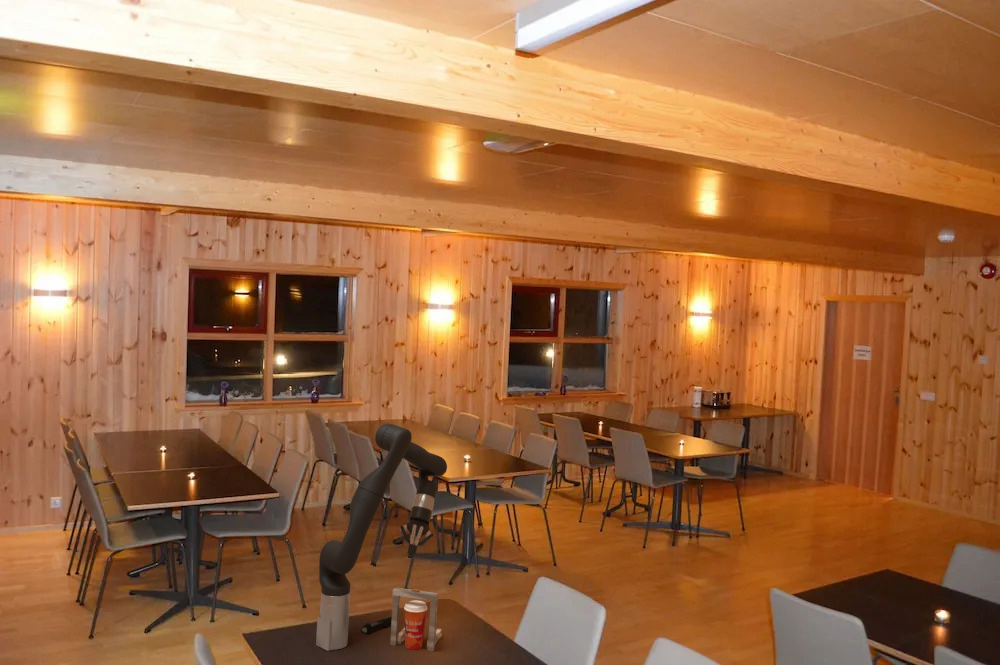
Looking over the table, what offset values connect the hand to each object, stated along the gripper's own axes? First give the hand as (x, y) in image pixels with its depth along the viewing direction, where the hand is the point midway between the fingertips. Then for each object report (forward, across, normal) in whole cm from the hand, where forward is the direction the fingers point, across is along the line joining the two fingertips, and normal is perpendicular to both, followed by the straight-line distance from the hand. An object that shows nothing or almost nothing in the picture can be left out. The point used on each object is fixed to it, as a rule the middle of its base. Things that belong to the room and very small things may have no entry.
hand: (410, 556), depth 279 cm
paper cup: (+30, +8, -8) cm, 32 cm away
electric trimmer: (+25, -4, +7) cm, 26 cm away
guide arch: (+27, +9, -5) cm, 29 cm away
